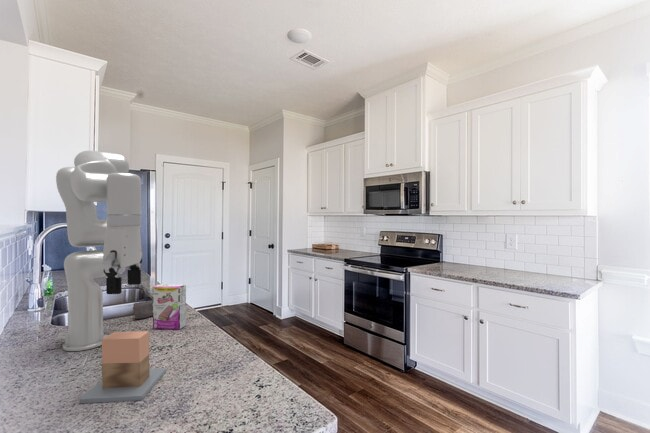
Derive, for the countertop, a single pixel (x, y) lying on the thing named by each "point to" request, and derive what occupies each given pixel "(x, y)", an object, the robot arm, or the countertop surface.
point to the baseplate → (123, 390)
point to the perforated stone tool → (143, 309)
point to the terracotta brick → (125, 347)
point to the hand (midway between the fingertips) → (124, 288)
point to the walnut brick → (125, 374)
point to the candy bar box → (169, 306)
